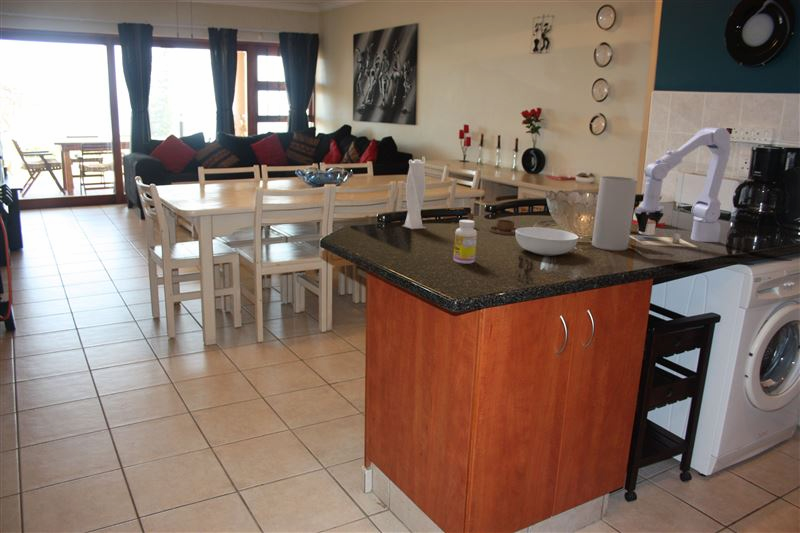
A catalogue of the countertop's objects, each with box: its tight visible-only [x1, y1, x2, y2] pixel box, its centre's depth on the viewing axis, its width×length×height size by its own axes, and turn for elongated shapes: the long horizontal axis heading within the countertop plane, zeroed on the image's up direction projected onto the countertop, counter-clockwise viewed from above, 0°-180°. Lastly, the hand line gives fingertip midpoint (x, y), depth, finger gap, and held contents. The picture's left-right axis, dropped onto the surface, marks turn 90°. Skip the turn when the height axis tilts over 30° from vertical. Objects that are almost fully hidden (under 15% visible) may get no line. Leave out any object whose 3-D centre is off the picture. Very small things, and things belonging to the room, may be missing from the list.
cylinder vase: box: [591, 175, 638, 252], centre depth 228 cm, size 12×12×25 cm
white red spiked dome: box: [632, 192, 666, 228], centre depth 284 cm, size 14×14×15 cm
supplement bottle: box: [452, 219, 478, 264], centre depth 197 cm, size 7×7×13 cm
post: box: [672, 232, 681, 244], centre depth 237 cm, size 2×2×4 cm
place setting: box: [466, 213, 518, 236], centre depth 252 cm, size 18×20×6 cm
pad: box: [630, 234, 660, 241], centre depth 243 cm, size 8×8×1 cm
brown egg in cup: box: [638, 220, 656, 236], centre depth 242 cm, size 5×5×5 cm
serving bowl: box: [514, 226, 579, 257], centre depth 217 cm, size 21×21×7 cm
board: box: [629, 235, 698, 248], centre depth 241 cm, size 20×16×2 cm
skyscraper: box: [401, 156, 427, 230], centre depth 245 cm, size 8×8×28 cm
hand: (646, 231), depth 243 cm, fingers closed on brown egg in cup, 5 cm apart
